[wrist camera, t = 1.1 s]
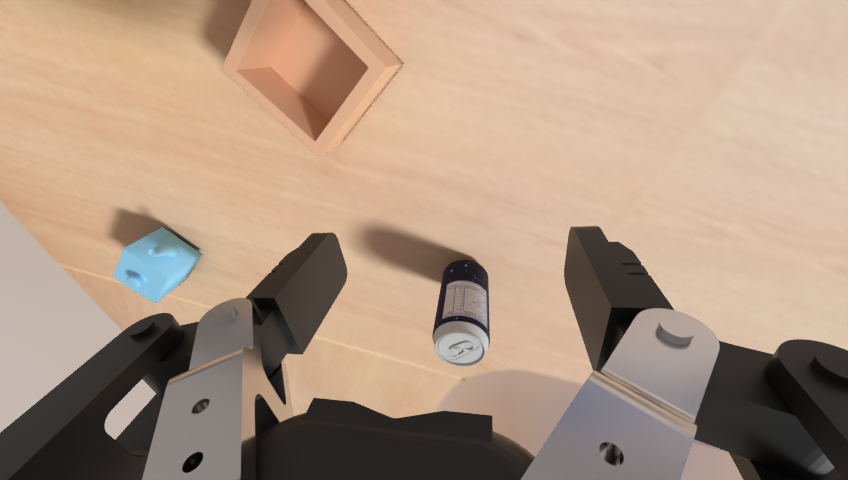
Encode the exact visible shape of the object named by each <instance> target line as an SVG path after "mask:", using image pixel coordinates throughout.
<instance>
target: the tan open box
mask: <svg viewBox="0 0 848 480" xmlns="http://www.w3.org/2000/svg"><path fill="white" fill-rule="evenodd" d="M403 64H404V63H403V62H402V61H401V60H400V59H399V58H398V57H397V56H396V55H395V54H394V52H393V51H392V50H391V49H390V48H389V47H388V46H387V45H386V44H385V43H384V42H383V40H382V39H381V38H380V37H379V36H378V35H377V34H376V33H375V32H374V31H373V30H372V29H371V27H370V26H369V25H368V24H367V23H366V22H365V21H364V20H363V19H362V18H361V17H360V15H359V14H358V13H357V12H356V11H355V10H354V9H353V8H352V7H351V6H350V5H349V3H348V2H347V1H346V0H252V2H251V4H250V6H249V8H248V11H247V13H246V15H245V17H244V20H243V22H242V24H241V26H240V28H239V31H238V33H237V35H236V37H235V40H234V42H233V44H232V46H231V49H230V51H229V53H228V55H227V57H226V60H225V62H224V64H223V66H222V69H221V71H222V72H223V73H224V74H225V75H226V76H227V77H228V78H229V79H231V80H232V81H233V82H234V83H235V84H236V85H237V86H238V87H240V88H241V89H242V90H243V91H244V92H245V93H246V94H247V95H249V96H250V97H251V98H252V99H253V100H254V101H255V102H256V103H257V104H259V105H260V106H261V107H262V108H263V109H264V110H265V111H266V112H268V113H269V114H270V115H271V116H272V117H273V118H274V119H275V120H277V121H278V122H279V123H280V124H281V125H282V126H283V127H284V128H286V129H287V130H288V131H289V132H290V133H291V134H292V135H293V136H295V137H296V138H297V139H298V140H299V141H300V142H301V143H302V144H304V145H305V146H306V147H307V148H308V149H309V150H310V151H311V152H313V153H314V154H315V155H316V156H317V157H318V158H319V157H320V156H322V155H323V154H325V153H326V152H328V151H329V150H331V149H332V148H334V147H335V146H337V145H338V144H340V143H341V142H343V141H344V140H345V138H346V137H347V136H348V134H349V133H350V132H351V131H352V129H353V128H354V127H355V126H356V124H357V123H358V122H359V120H360V119H361V118H362V117H363V115H364V114H365V113H366V112H367V110H368V109H369V108H370V106H371V105H372V104H373V103H374V101H375V100H376V99H377V97H378V96H379V95H380V94H381V92H382V91H383V90H384V89H385V87H386V86H387V85H388V83H389V82H390V81H391V80H392V78H393V77H394V76H395V75H396V73H397V72H398V71H399V69H400V68H401V67H402V66H403Z"/></svg>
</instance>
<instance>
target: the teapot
mask: <svg viewBox="0 0 848 480" xmlns="http://www.w3.org/2000/svg"><path fill="white" fill-rule="evenodd" d="M201 255H202V254H201V253H200V252H199V251H198V250H197V249H195V248H192V247H191V246H189V245H188V244H186V243H185V242H184V241H182V240H181V239H179V238H178V237H177V236H176V235H175V234H174V233H172V232H169V231H168V230H166V229H165V228H163V227H161V228H159V229H157V230H155V231H154V232H152V233H150V234H148V235H146V236H145V237H143V238H141V239H139V240H137V241H136V242H134V243H132V244H130V245H129V246H127V247H125V248H124V250H123V252H122V255H121V257H120V260H119V262H118V265H117V267H116V270H115V273H114V275H113V278H115V279H117V280H118V281H120V282H122V283H123V284H125V285H126V286H128V287H130V288H131V289H133V290H134V291H135V292H137V293H139V294H141V295H142V296H144V297H146V298H147V299H149V300H151V301H152V302H154V303H156V302H158V301H159V300H160V299H162V298H163V297H164V296H165V295H167V294H168V293H169V292H171V291H172V290H173V289H174V288H176V287H177V286H178V285H180V284H181V283H182V282H183V281H185V280H186V279H187V278H188V276H189V274H190V273H191V271H192V270H193V268H194V266H195V265H196V263H197V261H198V260H199V258H200V257H201Z"/></svg>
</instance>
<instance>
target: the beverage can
mask: <svg viewBox="0 0 848 480" xmlns="http://www.w3.org/2000/svg"><path fill="white" fill-rule="evenodd" d="M433 341H434V344H435V351H436V353H437V355H438V356H439V357H440V358H441V359H442V360H443V361H445V362H447V363H449V364H451V365H455V366H462V367H464V366H472V365H475V364H477V363H479V362H480V361H482V359H483V358H484V356H485V354H486V350H487V348H488V347H489V343H490V333H489V291H488V275H487V272H486V270H485V269H484V268H483V267H482V266H481V265H479V264H478V263H476V262H473V261H469V260H460V261H456V262H453V263H451V264H450V265H448V266H447V268H446V269H445V270H444V273H443V278H442V284H441V290H440V295H439V301H438V307H437V313H436V318H435V324H434V330H433Z"/></svg>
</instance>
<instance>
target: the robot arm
mask: <svg viewBox="0 0 848 480" xmlns="http://www.w3.org/2000/svg"><path fill="white" fill-rule="evenodd" d="M564 277H565V285H566V288H567V291H568V295H569V298H570V301H571V304H572V307H573V310H574V313H575V316H576V319H577V322H578V325H579V328H580V331H581V334H582V338H583V341H584V344H585V347H586V350H587V353H588V356H589V359H590V362H591V365H592V368H593V372H592V373H591V374H590V376H589V377H588V379H587V380H586V382H585V383H584V385H583V386H582V388H581V389H580V391H579V392H578V394H577V395H576V397H575V398H574V400H573V401H572V403H571V404H570V406H569V407H568V409H567V411H566V412H565V413H564V415H563V417H562V418H561V420H560V421H559V423H558V424H557V426H556V427H555V428H554V430H553V432H552V433H551V434H550V436H549V438H548V439H547V441H546V442H545V444H544V445H543V447H542V448H541V450H540V451H539V453H538V454H537V456H536V457H534V456H533V455H532V454H530V452H528V451H527V450H526V449H525V448H523V447H522V446H520V445H519V444H517V443H516V442H514V441H512V440H511V439H509V438H507V437H505V436H503V435H501V434H498V433H496V432H493V431H492V416H490V415H479V414H470V413H460V412H449V411H440V412H434V413H428V414H422V415H416V416H410V417H403V418H391V417H388V416H386V415H383V414H381V413H378V412H376V411H374V410H371V409H369V408H367V407H364V406H362V405H359V404H357V403H355V402H349V401H339V400H329V399H319V398H313V400H312V402H311V404H310V406H309V408H308V410H307V413H304V414H300V415H297V416H293V411H292V404H291V397H290V390H289V382H288V375H287V368H286V364H285V362H284V360H283V359H284V357H285V356H286V354H287V353H288V354H303V353H304V351H305V349H306V348H307V346H308V344H309V343H310V341H311V339H312V338H313V336H314V334H315V333H316V331H317V329H318V328H319V326H320V324H321V323H322V321H323V319H324V318H325V316H326V314H327V313H328V311H329V309H330V308H331V306H332V304H333V303H334V301H335V299H336V298H337V296H338V294H339V293H340V291H341V289H342V288H343V286H344V284H345V282H346V279H347V267H346V264H345V261H344V258H343V254H342V251H341V248H340V245H339V242H338V239H337V237H336V235H335V234H334V233H313V234H311V235H310V236H309V237H308V238H307V239H306V240H305V241H304V242H303V243H302V244H301V245H300V247H298V248H297V249H295V250H294V251H292V252H290V253H289V254H287V255H286V256H285V257H284V258H283V259H282V260H281V262H280V263H279V265H277V266H276V267H275V268H274V269H273V270H272V271H271V273H269V274H268V275H267V276H266V277H265V278H264V279H263V280H262V281H261V282H260V283H259V284H258V286H257V287H256V288H255V289H254V290H253V291H252V292H251V293H250V294H249V295H248V296H247V297H246V298H236V299H231V300H228V301H226V302H223V303H221V304H219V305H217V306H215V307H214V308H212V309H211V310H209V311H208V312H207V313H206V314H205V315H204V316H203V317H202V318H201V319H200V321H199V322H195V323H191V324H186V325H181V326H180V325H179V324H178V322H177V321H176V320H175V318H174V317H173V316H172V315H171V314H169V313H160V314H156V315H152V316H149V317H147V318H144V319H142V320H140V321H138V322H136V323H135V324H133V325H131V326H130V327H128V328H127V329H126V330H124V331H123V332H122V333H121V334H119V336H117V337H116V338H114V339H113V340H112V341H111V342H110V343H109V344H107V345H106V346H105V347H104V348H103V349H101V350H100V351H99V352H98V353H96V354H95V355H94V356H93V357H92V358H90V359H89V360H88V361H87V362H86V363H84V364H83V365H82V366H81V367H79V368H78V369H77V370H76V371H75V372H73V374H71V375H70V376H69V377H67V378H66V379H65V380H64V381H62V382H61V383H60V384H59V385H58V386H56V387H55V388H54V389H53V390H52V391H50V392H49V393H48V394H47V395H46V396H44V397H43V398H42V399H41V400H39V401H38V402H37V403H36V404H35V405H33V406H32V407H31V408H30V409H29V410H27V411H26V412H25V413H24V414H23V415H21V416H20V417H19V418H18V419H16V420H15V421H14V422H13V423H12V424H10V425H9V426H8V427H7V428H6V429H4V430H3V431H2V432H1V433H0V480H680V479H681V475H682V473H683V470H684V467H685V464H686V461H687V458H688V455H689V452H690V449H691V446H692V443H693V440H694V439H695V440H698V441H701V442H704V443H706V444H709V445H712V446H714V447H717V448H720V449H723V450H725V451H728V452H729V453H730V455H731V457H732V459H733V461H734V462H735V464H736V466H737V468H738V470H739V472H740V474H741V476H742V477H743V479H744V480H848V351H847V350H845V349H842V348H839V347H836V346H833V345H830V344H826V343H822V342H817V341H812V340H798V339H797V340H789V341H786V342H784V343H782V344H781V345H780V346H779V347H778V349H777V350H776V352H775V353H774V355H773V354H769V353H765V352H761V351H756V350H752V349H748V348H744V347H740V346H736V345H732V344H728V343H725V342H721V341H718V339H717V337H716V335H715V334H714V333H713V332H712V331H711V330H710V329H709V328H708V327H707V326H706V325H705V324H703V323H702V322H700V321H699V320H697V319H695V318H693V317H691V316H689V315H687V314H684V313H681V312H678V311H675V310H674V309H673V307H672V306H671V305H670V303H669V302H668V300H667V299H666V297H665V296H664V295H663V293H662V292H661V290H660V289H659V288H658V286H657V285H656V283H655V282H654V281H653V279H652V278H651V276H650V275H648V272H647V271H646V269H645V268H644V266H641V262H640V261H639V259H638V258H637V256H636V255H635V254H634V252H633V251H631V250H630V249H628V248H627V247H625V246H624V245H622V244H621V243H619V242H608V240H607V239H606V237H605V235H604V234H603V232H602V230H601V229H600V227H598V226H588V227H571V228H570V231H569V237H568V245H567V252H566V260H565V268H564ZM141 379H143V380H144V381H145V382H146V383H147V384H148V385H149V386H150V387H151V388H152V389H153V390H154V391H155V393H156V395H155V396H154V397H153V398H152V399H151V401H150V402H149V403H148V404H147V405H146V406H145V407H144V408H143V409H142V411H141V412H140V413H139V414H138V415H137V416H136V417H135V419H134V420H133V421H132V422H131V423H130V424H129V425H128V426H127V427H126V429H125V430H124V431H123V432H122V433H121V434H120V435H119V436H118V437H117V439H116V440H114V439H113V438H112V437H111V436H109V435H108V434H107V433H106V431H105V428H104V423H105V420H106V417H107V415H108V414H109V412H110V411H111V410H112V409H113V408H114V407H115V405H117V404H118V402H119V401H121V400H122V399H123V398H124V397H125V395H127V394H128V392H129V391H130V390H131V389H132V388H133V387H134V386H135V385H136V384H137V383H138V382H139V381H140V380H141Z"/></svg>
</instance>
